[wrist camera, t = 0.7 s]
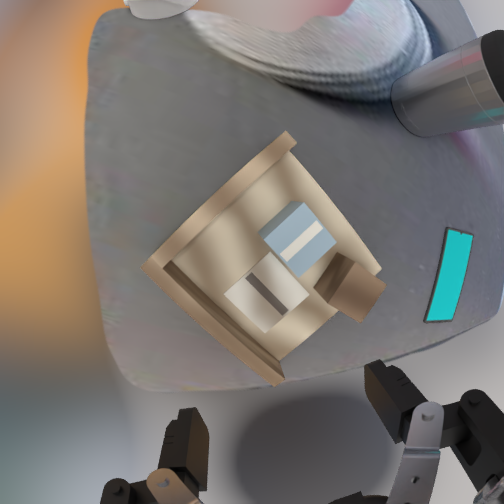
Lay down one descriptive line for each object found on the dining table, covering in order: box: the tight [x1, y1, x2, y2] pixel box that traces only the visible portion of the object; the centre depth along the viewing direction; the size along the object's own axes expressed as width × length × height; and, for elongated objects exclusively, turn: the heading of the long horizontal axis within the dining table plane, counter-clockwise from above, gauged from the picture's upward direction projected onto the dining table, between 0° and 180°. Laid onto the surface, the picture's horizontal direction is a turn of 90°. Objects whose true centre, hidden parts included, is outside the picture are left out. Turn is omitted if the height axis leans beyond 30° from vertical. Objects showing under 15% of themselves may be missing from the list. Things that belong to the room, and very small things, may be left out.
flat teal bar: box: [423, 227, 474, 323], centre depth 36 cm, size 7×1×15 cm
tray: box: [140, 131, 382, 387], centre depth 30 cm, size 19×20×5 cm
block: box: [258, 201, 337, 278], centre depth 28 cm, size 5×5×5 cm
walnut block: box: [313, 252, 387, 323], centre depth 30 cm, size 5×5×5 cm
